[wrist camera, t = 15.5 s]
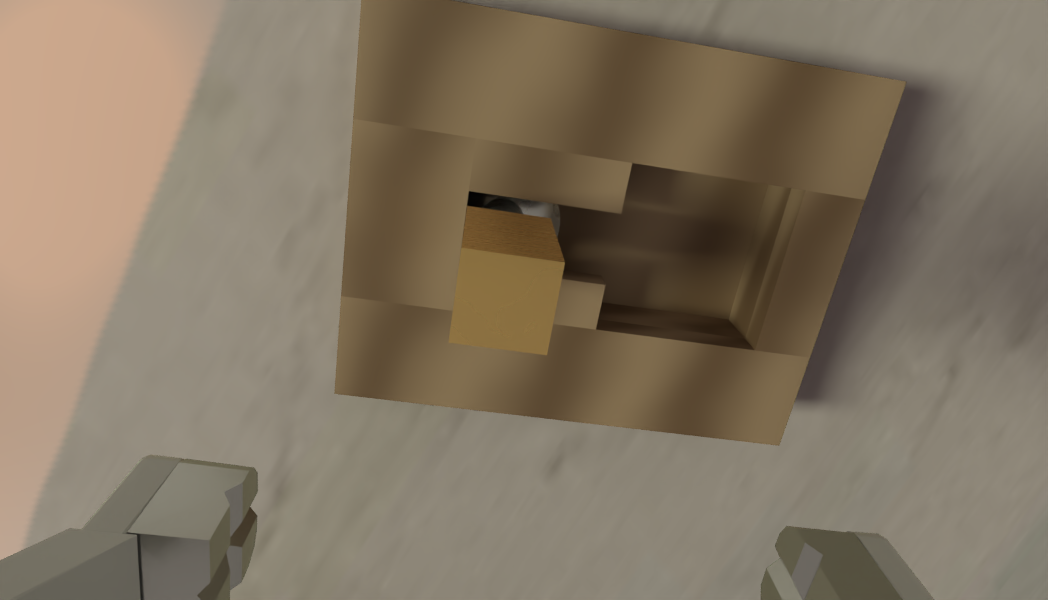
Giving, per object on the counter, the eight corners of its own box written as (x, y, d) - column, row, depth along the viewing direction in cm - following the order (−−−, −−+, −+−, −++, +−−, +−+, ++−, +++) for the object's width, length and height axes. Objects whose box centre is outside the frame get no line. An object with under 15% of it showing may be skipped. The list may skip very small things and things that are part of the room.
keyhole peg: (567, 166, 29) (606, 234, 19) (546, 275, 30) (572, 388, 21) (451, 148, 28) (429, 208, 18) (437, 259, 30) (411, 367, 20)
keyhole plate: (847, 75, 29) (906, 81, 25) (744, 397, 34) (779, 445, 30) (382, -8, 27) (362, -16, 23) (354, 348, 32) (334, 393, 28)
